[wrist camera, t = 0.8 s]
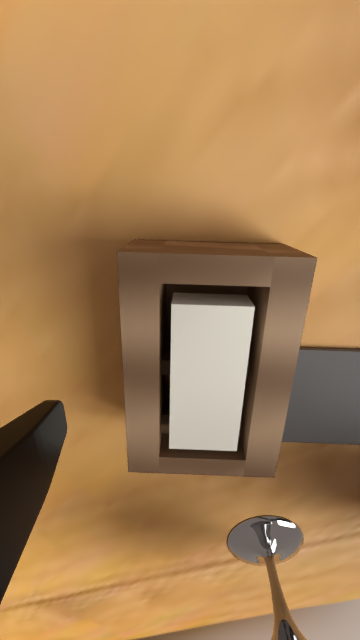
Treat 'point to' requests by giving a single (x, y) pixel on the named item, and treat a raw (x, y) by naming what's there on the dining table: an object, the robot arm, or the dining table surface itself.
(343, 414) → the mat
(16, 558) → the robot arm
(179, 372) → the block
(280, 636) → the wine glass
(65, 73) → the dining table surface
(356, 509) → the dining table surface
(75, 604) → the dining table surface
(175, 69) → the dining table surface
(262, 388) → the rectangular frame
